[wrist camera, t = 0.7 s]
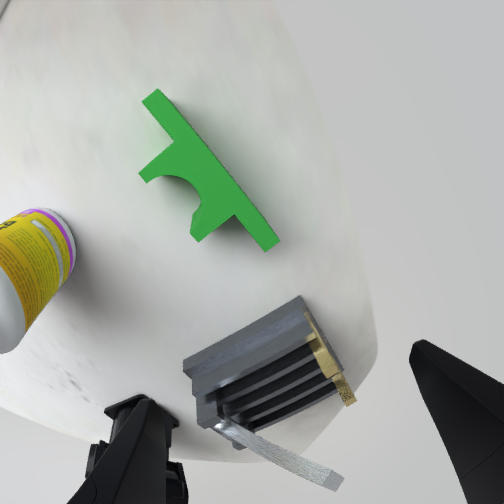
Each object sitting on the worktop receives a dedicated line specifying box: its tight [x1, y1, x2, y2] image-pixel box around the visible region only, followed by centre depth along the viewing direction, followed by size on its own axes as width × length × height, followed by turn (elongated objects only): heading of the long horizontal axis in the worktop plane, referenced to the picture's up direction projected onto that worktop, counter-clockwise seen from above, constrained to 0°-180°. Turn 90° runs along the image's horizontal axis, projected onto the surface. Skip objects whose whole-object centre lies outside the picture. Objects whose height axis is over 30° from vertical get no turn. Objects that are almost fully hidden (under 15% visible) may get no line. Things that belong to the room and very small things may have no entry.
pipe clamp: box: [138, 89, 280, 252], centre depth 17 cm, size 11×4×5 cm, turn 37°
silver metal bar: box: [210, 413, 344, 491], centre depth 18 cm, size 12×4×2 cm
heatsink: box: [183, 296, 357, 450], centre depth 23 cm, size 12×10×7 cm
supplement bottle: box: [0, 207, 76, 354], centre depth 13 cm, size 7×7×13 cm
